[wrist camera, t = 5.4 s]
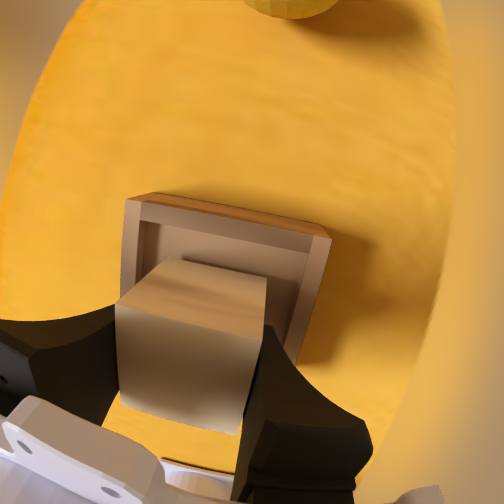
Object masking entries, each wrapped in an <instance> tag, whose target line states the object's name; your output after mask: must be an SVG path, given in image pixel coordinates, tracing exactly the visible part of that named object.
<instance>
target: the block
mask: <svg viewBox="0 0 504 504" xmlns="http://www.w3.org/2000/svg"><path fill="white" fill-rule="evenodd" d="M266 285H267V278H265V277H260V276H256V275H251V274H246V273H241V272H236V271H231V270H226V269H222V268H217V267H212V266H208V265H203V264H198V263H194V262H189V261H184V260H180V259H175V258H171V257H167V258H165V259H164V260H163V261H162V262H161V263H160V264H159V265H157V266H156V267H155V268H154V269H153V270H152V271H151V272H149V273H148V274H147V275H146V276H145V277H144V278H143V279H142V280H140V281H139V282H138V283H137V284H136V285H135V286H134V287H133V288H131V289H130V290H129V291H128V292H127V293H126V294H125V295H124V296H123V297H122V298H120V299H119V300H118V301H117V302H116V303H115V330H116V351H117V366H118V378H119V388H120V397H121V405H124V406H127V407H130V408H133V409H135V410H138V411H141V412H145V413H148V414H151V415H154V416H157V417H161V418H164V419H167V420H171V421H175V422H178V423H182V424H186V425H190V426H194V427H198V428H202V429H207V430H211V431H216V432H220V433H225V434H231V435H236V436H237V433H238V430H239V426H240V423H241V419H242V415H243V412H244V408H245V404H246V401H247V397H248V393H249V389H250V386H251V382H252V378H253V374H254V370H255V367H256V363H257V359H258V355H259V351H260V347H261V343H262V339H263V326H264V312H265V299H266Z"/></svg>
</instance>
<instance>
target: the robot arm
mask: <svg viewBox="0 0 504 504" xmlns="http://www.w3.org/2000/svg"><path fill="white" fill-rule="evenodd" d="M119 390H120V388H119V378H118V366H117V351H116V330H115V304H113V305H110V306H108V307H105V308H102V309H99V310H96V311H92V312H89V313H86V314H82V315H78V316H74V317H69V318H64V319H56V320H47V321H13V320H3V319H0V504H354V499H353V492H352V491H354V490H355V488H356V483H355V477H356V476H357V474H358V473H359V472H360V471H361V470H362V468H363V467H364V466H365V465H366V464H367V462H368V461H369V459H370V458H371V456H372V453H373V445H372V442H371V438H370V434H369V431H368V429H367V427H366V424H365V422H364V420H362V419H360V418H358V417H356V416H354V415H352V414H351V413H349V412H347V411H345V410H343V409H342V408H340V407H339V406H337V405H336V404H334V403H333V402H331V401H330V400H329V399H327V398H326V397H325V396H323V395H322V394H321V393H320V392H319V391H318V390H317V389H315V388H314V387H313V386H312V385H311V384H310V383H309V382H308V381H307V380H306V379H305V378H304V377H303V375H302V374H301V373H300V372H299V371H298V370H297V368H296V367H295V366H294V364H293V363H292V361H291V360H290V358H289V357H288V355H287V353H286V352H285V350H284V348H283V347H282V345H281V343H280V341H279V339H278V337H277V335H276V333H275V330H274V328H273V327H272V326H271V325H266V324H264V326H263V339H262V343H261V347H260V351H259V355H258V359H257V363H256V367H255V370H254V374H253V378H252V382H251V386H250V389H249V393H248V397H247V401H246V404H245V408H244V412H243V424H242V434H241V440H240V446H239V452H238V458H237V464H236V470H235V475H230V474H224V473H219V472H214V471H209V470H204V469H200V468H196V467H191V466H187V465H183V464H180V463H176V462H172V461H169V460H165V459H161V458H159V459H158V458H157V457H156V456H155V455H154V454H153V453H151V452H150V451H149V450H148V449H146V448H145V447H144V446H143V445H141V444H139V443H137V442H135V441H133V440H131V439H129V438H127V437H125V436H123V435H121V434H118V433H115V432H113V431H110V430H108V429H105V428H103V427H101V426H102V424H103V421H104V419H105V417H106V415H107V413H108V410H109V408H110V406H111V404H112V402H113V400H114V398H115V396H116V395H117V393H118V391H119ZM386 504H445V501H444V499H443V495H442V493H441V490H440V487H439V485H433V486H429V487H423V488H418V489H413V490H410V491H408V492H406V493H404V494H403V495H402V496H400V497H399V498H398V500H397V501H396V502H393V503H386Z"/></svg>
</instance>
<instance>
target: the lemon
mask: <svg viewBox="0 0 504 504" xmlns="http://www.w3.org/2000/svg"><path fill="white" fill-rule="evenodd" d="M243 1H244V2H245V3H246V4H247V5H249V6H250V7H252V8H254V9H255V10H257V11H259V12H260V13H263V14H266V15H269V16H272V17H276V18H282V19H302V18H308V17H312V16H315V15H317V14H320V13H322V12H325V11H326V10H328V9H329V8H330V7H332V6H333V5H334V4H336V3H337V2H338V1H339V0H243Z"/></svg>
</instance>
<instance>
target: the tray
mask: <svg viewBox="0 0 504 504" xmlns="http://www.w3.org/2000/svg"><path fill="white" fill-rule="evenodd" d="M331 243H332V238H331V237H330V236H329V234H328V233H327V232H326V231H325V229H324V228H323V227H322V225H320V224H315V223H311V222H306V221H301V220H297V219H292V218H287V217H283V216H278V215H273V214H268V213H263V212H258V211H253V210H248V209H243V208H238V207H233V206H228V205H222V204H217V203H212V202H206V201H201V200H195V199H190V198H184V197H178V196H172V195H167V194H161V193H155V192H152V193H148V194H144V195H140V196H136V197H132V198H128V199H126V201H125V211H124V223H123V236H122V252H121V278H120V298H122V297H123V296H124V295H125V294H126V293H127V292H128V291H129V290H130V289H131V288H133V287H134V286H135V285H136V284H137V283H138V282H139V281H140V280H142V279H143V278H144V277H145V276H146V275H147V274H148V273H149V272H151V271H152V270H153V269H154V268H155V267H156V266H157V265H159V264H160V263H161V262H162V261H163V260H164V259H165V258H167V257H171V258H175V259H180V260H184V261H189V262H194V263H198V264H203V265H208V266H212V267H217V268H222V269H226V270H231V271H236V272H241V273H246V274H251V275H256V276H260V277H265V278H267V285H266V299H265V312H264V324H266V325H271V326H272V327H273V328H274V330H275V333H276V335H277V337H278V339H279V341H280V343H281V345H282V347H283V348H284V350H285V352H286V353H287V355H288V357H289V358H290V360H291V361H292V363H293V364H294V366H295V363H296V360H297V357H298V355H299V352H300V349H301V345H302V342H303V339H304V336H305V333H306V330H307V327H308V324H309V320H310V317H311V314H312V311H313V307H314V304H315V301H316V297H317V294H318V291H319V287H320V284H321V280H322V277H323V273H324V269H325V266H326V262H327V258H328V255H329V251H330V247H331Z"/></svg>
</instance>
